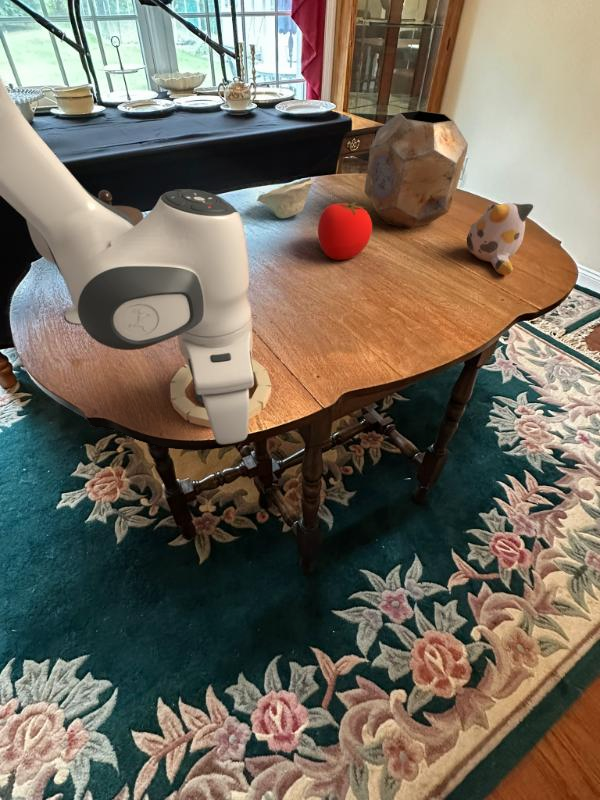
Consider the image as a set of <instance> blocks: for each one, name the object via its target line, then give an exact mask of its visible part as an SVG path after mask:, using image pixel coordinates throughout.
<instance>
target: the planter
mask: <svg viewBox="0 0 600 800" xmlns="http://www.w3.org/2000/svg"><path fill="white" fill-rule="evenodd" d="M468 147H469V145H468V141H467V140H466V139H465V137H464V135H463V134H462V132H461V130H460V129H459V127H458V125H457V124H456V122H455V120H454V119H452V118H451V117H449V116H448V115H447V114H445V113H439V112H431V111H424V110H410V111H402V112H398V113H397V114H395V115H394V116H393V117H392V118H390V119H389V120H388V121H387V122H386V123H384V124H383V125H382V126H380V127H379V128H378V129H377V132H376V134H375V136H374V139H373V141H372V143H371V145H370V148H369V154H368V160H367V161H368V162H367V170H366V176H365V177H366V178H365V184H364V193H365V195H366V197H367V198H368V200H369V201H370V202H371V205H372V206H373V208H374V210H375V211H376V212H377V214H378V215H379V216H380V217H381V219H383V221H384V222H385V224H388V225H393V226H397V227H403V228H407V229H414V228H418V227H421V226H425V225H429V224H431V223H432V222H434V221H435V220H437V219H439V218H441V217H442V216H444V215H446V214H447V213H449V212H450V209H451V206H452V204H453V200H454V198H455V195H456V192H457V188H458V185H459V182H460V179H461V174H462V170H463V167H464V164H465V160H466V157H467V153H468Z"/></svg>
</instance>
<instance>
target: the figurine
mask: <svg viewBox="0 0 600 800" xmlns="http://www.w3.org/2000/svg"><path fill="white" fill-rule="evenodd" d="M533 209H534V205H533V204H532V203H521V204H520V203H511V202H510V203H509V202H508V203H502V204H498V203H492V204H490V205H489V207H488V208H487V211H486V212H485V213H484V214H483V215H481V217H480V218H478V220H477V221H475V222H473V223H472V224H471V225H470V229H469V230H468V232H467V236H466V245H467V249H468V250H469V251H470V253H471V254H473V256H474V257H476V259H479V260H481V261H482V262H489V263H491V264H492V265H491V266H493V269H494V270H495V271H496V273H498V274H499V275H502V276H509V275H510V274H512V272H513V269H514V267H513V265H512V262H511V261H510V259H509V258H511V257H513V256H514V255H515V254H516V253H517V252H518V250H519V248H520V246H521V244H522V243H523V241H524V236H525V230H526V220H527V218H528V216H529V215H530V213H531V212H532V211H533Z"/></svg>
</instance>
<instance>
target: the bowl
mask: <svg viewBox="0 0 600 800" xmlns="http://www.w3.org/2000/svg"><path fill="white" fill-rule="evenodd" d="M314 183H315V181H314V179H312V178H310V177H309V178H305V179H302V180H299V181H296V182H293V183H290V184H285V185H283V186H280V187H279V188H275V189H272V190H270V191H268V192H266V193H262V194H260V195H258V197H257V199H256V201H257V202H259V203H261V204H263V205H264V206H266V207H268V208H269V209H270V210H271V211H272V213H274V215H275V217H277V218H278V219H287V218H291V217H294V216H295V215H298V214H300V213H302V212H303V210H304V208H305V207H304V206H305V204H306V201H307V199H308V196H309V192H310V190H311V187H312V185H313V184H314Z"/></svg>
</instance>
